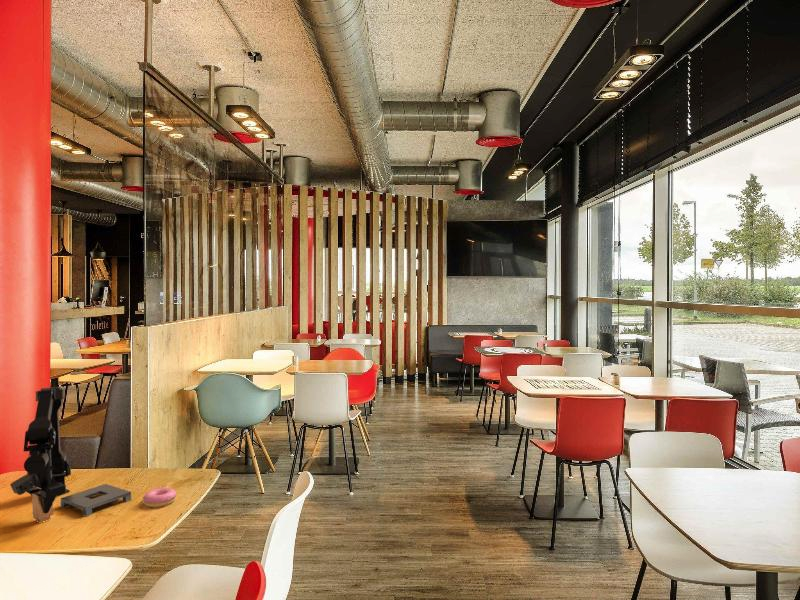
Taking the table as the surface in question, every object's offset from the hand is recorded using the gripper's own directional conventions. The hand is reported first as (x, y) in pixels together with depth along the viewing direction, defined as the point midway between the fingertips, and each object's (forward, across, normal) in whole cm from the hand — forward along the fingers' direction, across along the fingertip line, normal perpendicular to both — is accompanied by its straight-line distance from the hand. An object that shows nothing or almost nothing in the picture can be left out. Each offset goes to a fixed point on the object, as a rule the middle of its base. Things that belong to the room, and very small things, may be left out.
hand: (43, 511), depth 185 cm
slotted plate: (+3, +1, +17) cm, 17 cm away
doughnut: (+3, +20, +29) cm, 35 cm away
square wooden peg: (+3, 0, 0) cm, 3 cm away
